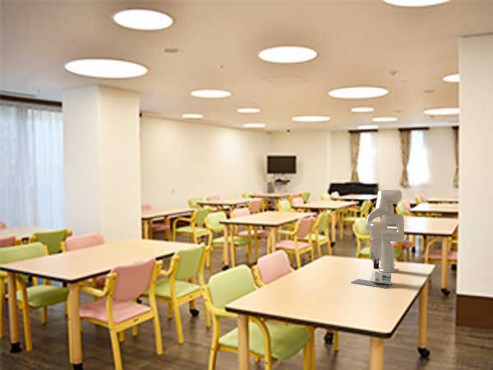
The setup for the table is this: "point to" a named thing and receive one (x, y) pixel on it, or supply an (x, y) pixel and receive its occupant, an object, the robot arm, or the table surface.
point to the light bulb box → (381, 277)
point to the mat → (371, 283)
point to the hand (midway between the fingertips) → (376, 268)
